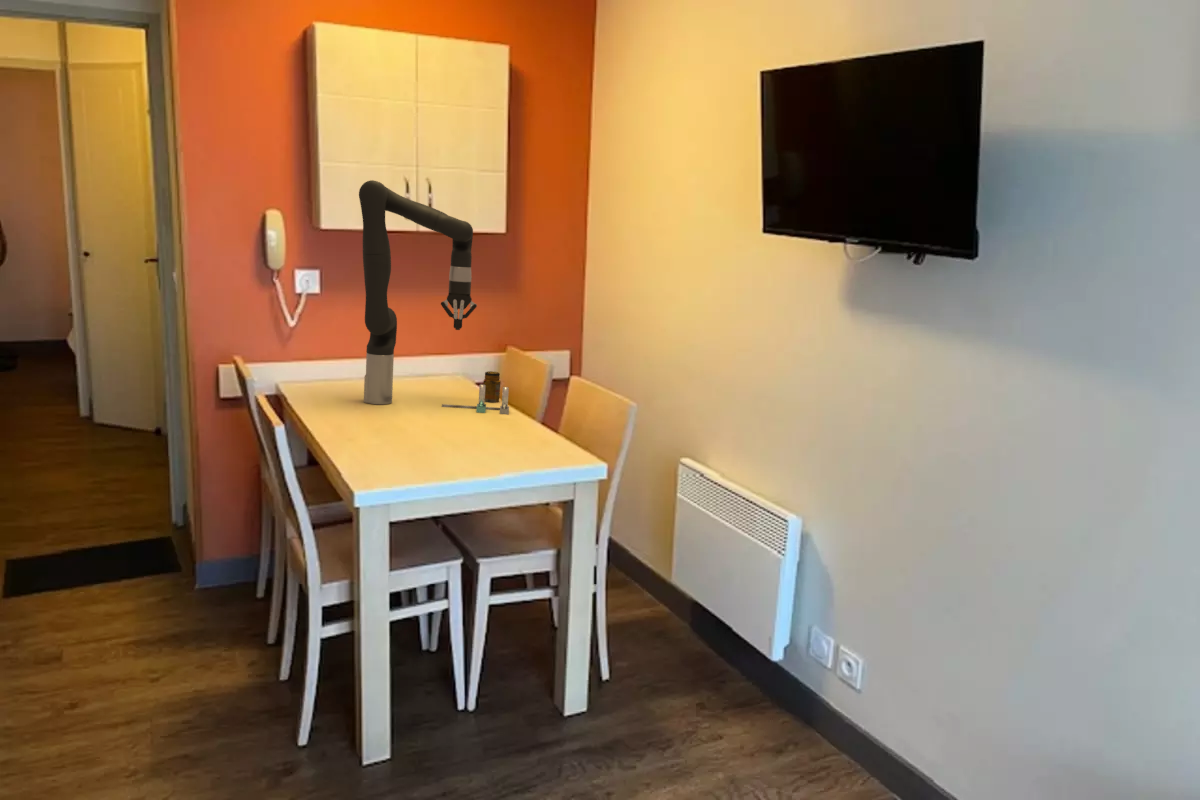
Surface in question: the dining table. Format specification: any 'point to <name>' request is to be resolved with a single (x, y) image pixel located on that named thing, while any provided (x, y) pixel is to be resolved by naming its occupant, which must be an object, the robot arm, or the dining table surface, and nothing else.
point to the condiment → (492, 387)
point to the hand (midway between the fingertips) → (457, 329)
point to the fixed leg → (504, 401)
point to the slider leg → (481, 400)
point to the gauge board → (468, 407)
